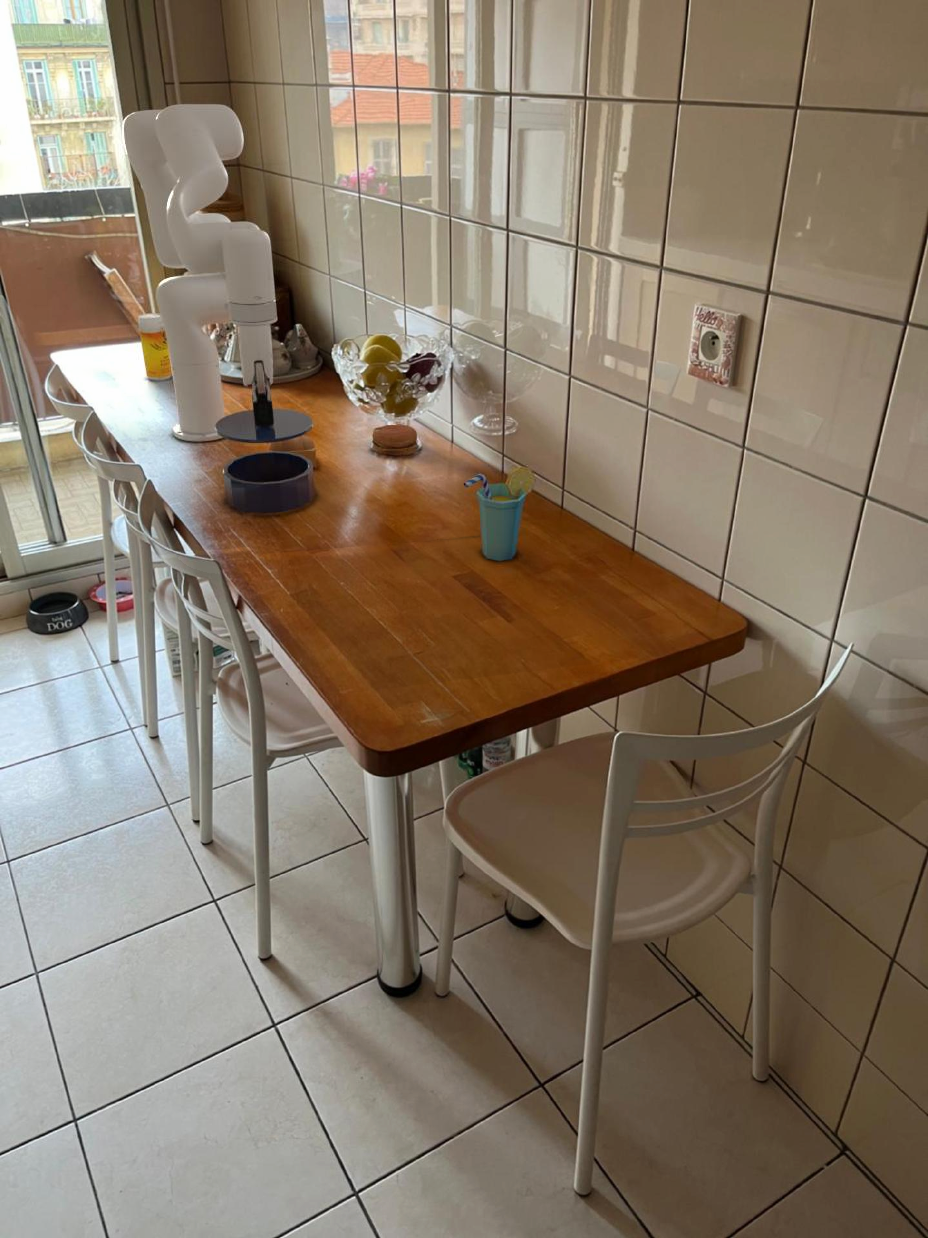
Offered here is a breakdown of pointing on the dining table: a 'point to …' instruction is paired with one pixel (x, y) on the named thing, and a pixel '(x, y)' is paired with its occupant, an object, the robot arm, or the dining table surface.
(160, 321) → the yellow tall cylinder
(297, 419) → the lid
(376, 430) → the burger
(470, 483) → the cup
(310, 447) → the bread
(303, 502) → the pot
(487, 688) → the dining table surface
